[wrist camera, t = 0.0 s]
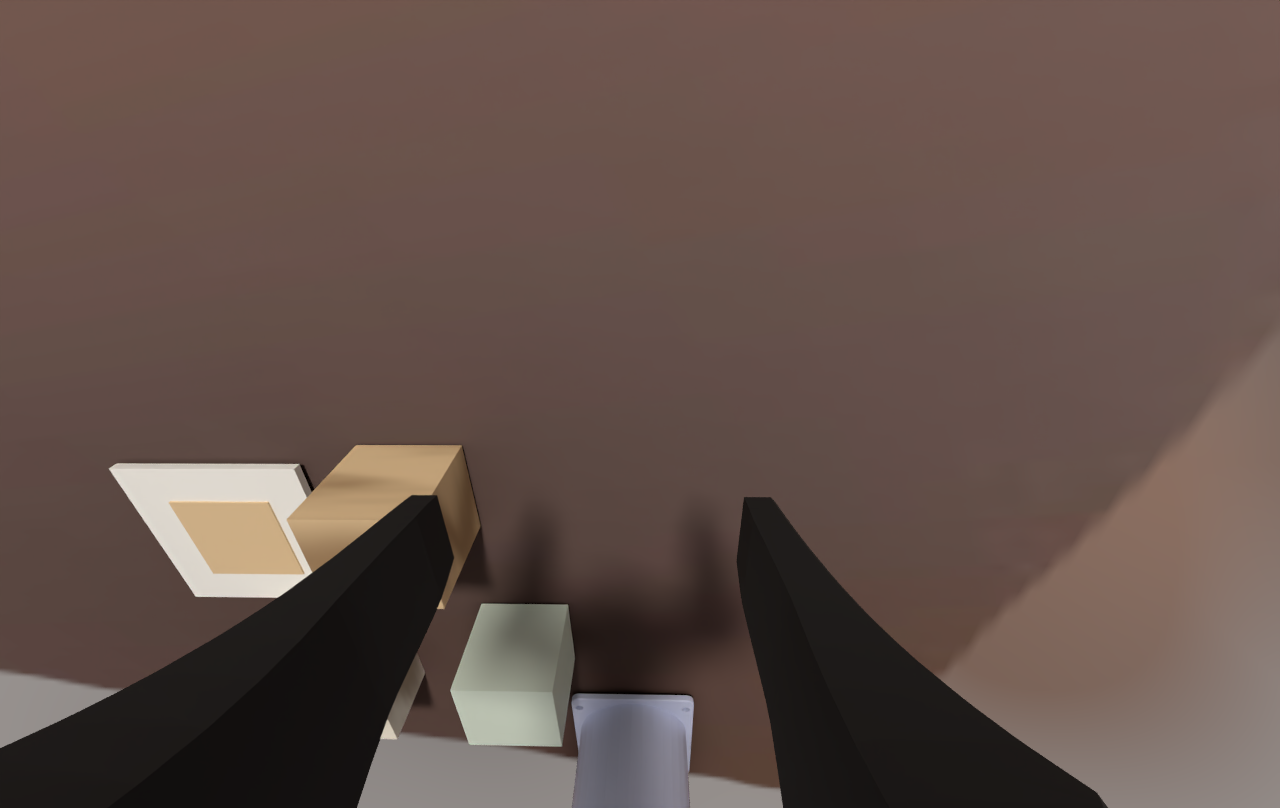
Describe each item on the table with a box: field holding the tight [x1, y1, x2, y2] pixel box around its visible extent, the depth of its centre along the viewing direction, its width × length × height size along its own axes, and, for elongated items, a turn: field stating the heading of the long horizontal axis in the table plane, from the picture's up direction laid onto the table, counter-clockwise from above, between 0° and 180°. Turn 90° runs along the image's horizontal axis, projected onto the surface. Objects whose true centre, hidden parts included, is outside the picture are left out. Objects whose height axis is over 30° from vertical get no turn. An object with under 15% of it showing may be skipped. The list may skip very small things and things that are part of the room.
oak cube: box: [286, 445, 480, 609], centre depth 22 cm, size 5×5×5 cm
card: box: [109, 464, 312, 598], centre depth 26 cm, size 9×9×1 cm
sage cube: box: [450, 604, 575, 746], centre depth 27 cm, size 5×5×5 cm
